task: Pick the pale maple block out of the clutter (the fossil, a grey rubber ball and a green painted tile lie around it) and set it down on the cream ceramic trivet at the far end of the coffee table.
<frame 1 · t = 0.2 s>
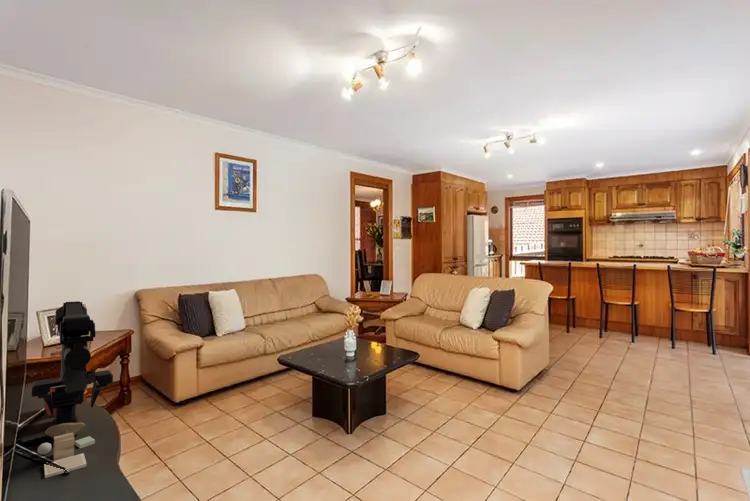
hand: (72, 410, 113), 14 cm above the table, tool pointing down, fingers open, 9 cm apart
block: (63, 455, 114), on the table
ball: (44, 448, 114), point 2 cm above the table
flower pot: (60, 412, 141), on the table
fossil: (65, 440, 122), on the table
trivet: (65, 466, 108), on the table
tile: (84, 445, 121), on the table
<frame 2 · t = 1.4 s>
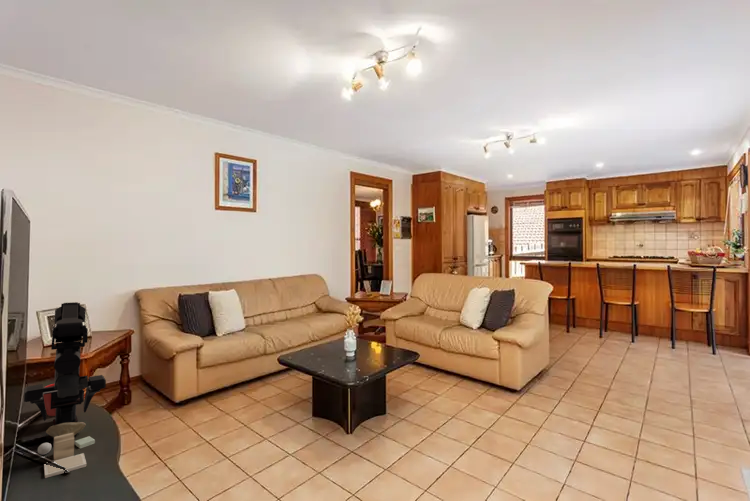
hand: (65, 415, 114), 12 cm above the table, tool pointing down, fingers open, 9 cm apart
nothing on the table moved.
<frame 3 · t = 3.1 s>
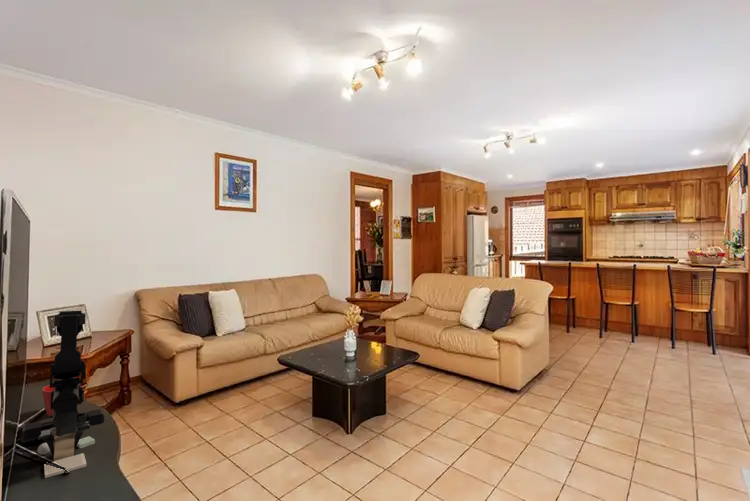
hand: (63, 452, 114), 1 cm above the table, tool pointing down, fingers closed on block, 4 cm apart
block: (63, 455, 114), on the table, touching gripper
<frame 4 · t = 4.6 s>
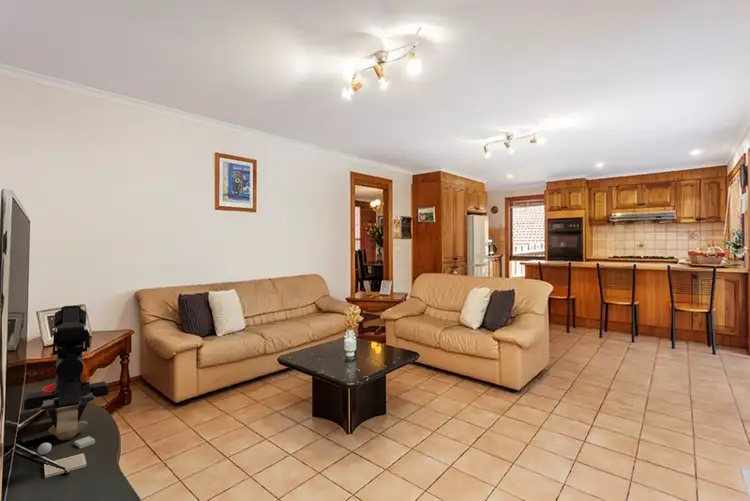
hand: (66, 424, 109), 12 cm above the table, tool pointing down, fingers closed on block, 4 cm apart
block: (66, 428, 109), point 11 cm above the table, touching gripper
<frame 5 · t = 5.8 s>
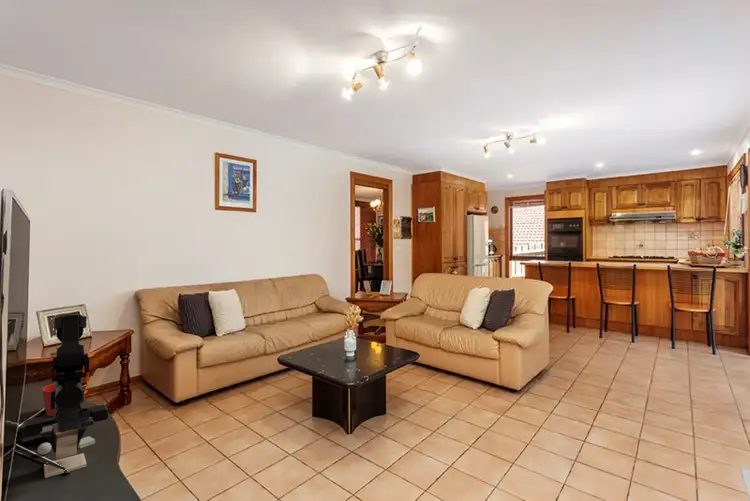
hand: (66, 449, 108), 5 cm above the table, tool pointing down, fingers closed on block, 4 cm apart
block: (65, 453, 108), point 4 cm above the table, touching gripper
when the fingers open (3 cm above the table, at t = 6.5 s): block drops 1 cm, resting on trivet.
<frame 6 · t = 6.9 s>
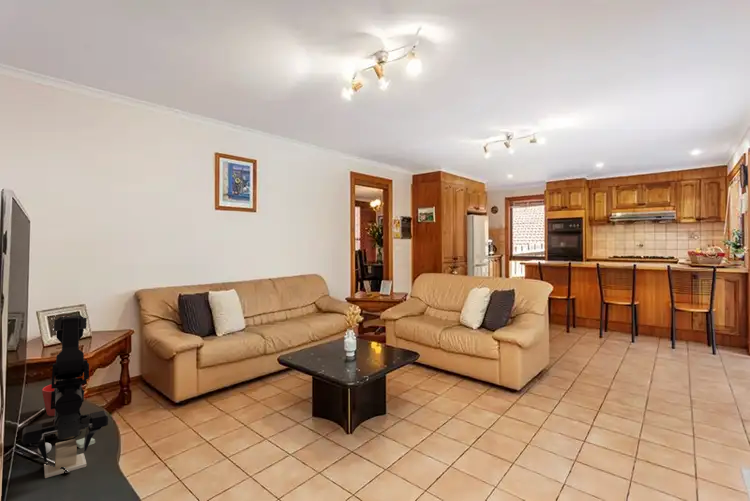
hand: (65, 455, 108), 3 cm above the table, tool pointing down, fingers open, 8 cm apart
block: (65, 463, 108), point 1 cm above the table, touching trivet
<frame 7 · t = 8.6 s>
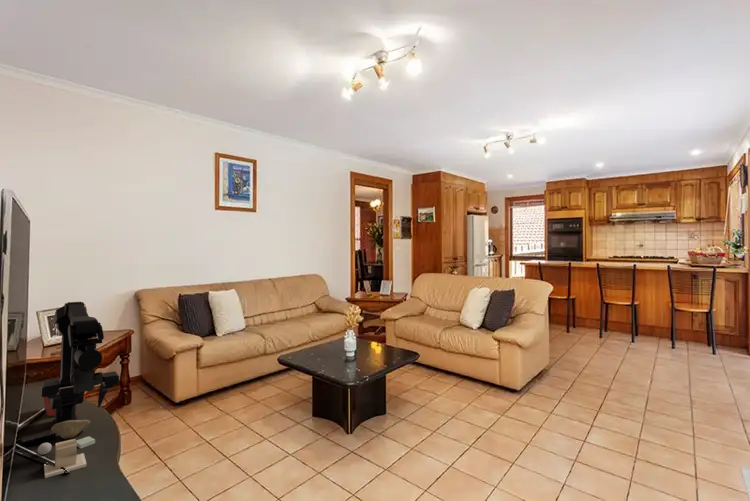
hand: (80, 410, 117), 12 cm above the table, tool pointing down, fingers open, 9 cm apart
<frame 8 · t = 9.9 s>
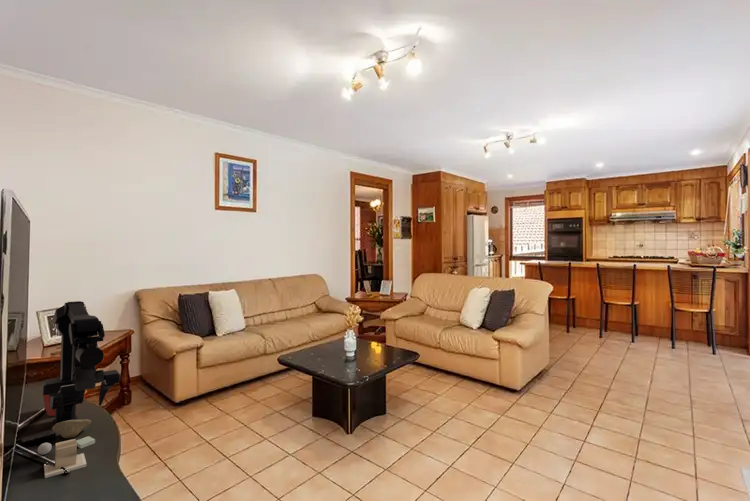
hand: (81, 409, 117), 13 cm above the table, tool pointing down, fingers open, 9 cm apart
at the end: block inside the target area on the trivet (0.0 cm from its centre), point 0.9 cm above the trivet's base; block tilted 0°; the gripper is holding nothing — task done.
